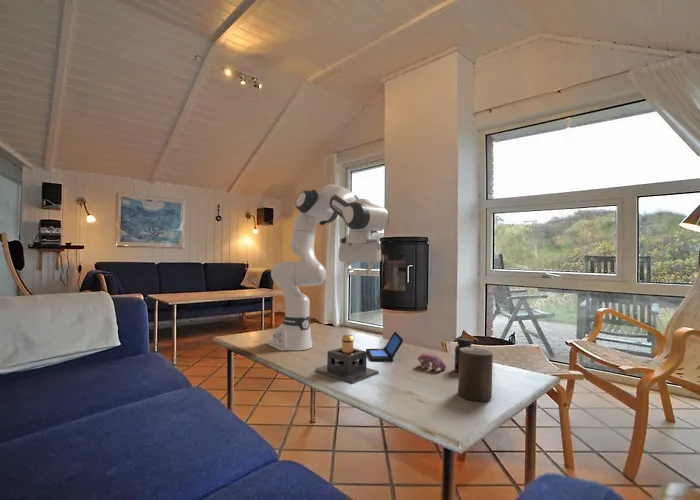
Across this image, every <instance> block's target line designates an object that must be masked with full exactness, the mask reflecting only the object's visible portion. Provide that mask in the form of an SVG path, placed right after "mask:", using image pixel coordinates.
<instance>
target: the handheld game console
mask: <svg viewBox="0 0 700 500" xmlns="http://www.w3.org/2000/svg"><path fill="white" fill-rule="evenodd" d="M403 343H404V339H403V338H402V337H401V336H400V335H399V334H398V333H397V331H394V332H393V333H392V335H391V337H390V339H389V340H388V342H387V343H386V345H385V346H383V348H366V349H365V351H366V352H367V357H368V359H369V360H370V361H371V362H381V363H382V362H394V357H395V355H396V354H397V352H398V350H399V349H400V347H401V346H402V344H403Z"/></svg>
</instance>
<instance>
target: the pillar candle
mask: <svg viewBox="0 0 700 500" xmlns="http://www.w3.org/2000/svg"><path fill="white" fill-rule="evenodd" d="M493 357H494V355H493V352H492V350H489V349H485V348H480V347H476V346H473V347H472V346H471V347H463V348H460V350H459V373H458V381H457V382H458V383H457V385H458V386H457V393H458V395H459V396H460V397H461V398H463V399H466V400H469V401H472V402H476V401H481V402H480V403H483V402H482V401H487V402H489V401H488V400H490V399H491V398H492V397H493V395H492V394H493ZM491 400H492V399H491ZM491 400H490V401H491Z"/></svg>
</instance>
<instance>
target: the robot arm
mask: <svg viewBox="0 0 700 500" xmlns="http://www.w3.org/2000/svg"><path fill="white" fill-rule="evenodd" d="M295 208H296V209H297V211H298V212H300V213H298V214H297V215H296V217H295V220H294V222H293V225H292V226H293V227H292V231H291V239H290V245H289V247H290V251H291V252H292V253H293V254H294V255H296V256H298V257H299V259H300V260H299V261H282V262H281V261H280V262H276V263H275V264H274V265H273V267H272V268H271V272H270V276H271V279H272V281H273V282H274V283H275V284H276V285H277V286H278V287H279V288H280V290H281V292H282V294H283V297H284V307H285V308H284V310H285V311H284V312H285V313H284V316H283V317H281V320H282V321H281V322H282V323H281V324H280V325H279V326H278V327H276V329H274V331H273V332H272V337H271V338H272V339H271V340H268V341H267V342H266V345H268V346H271V348H274V349H276V350H278V351H303V350H304V351H305V350H308V349H312V347H313V341H312V331H311V326H310V324H311V315H310V309H311V308H310V307H311V306H310V304H311V303H310V302H311V301H310V298H309V297H308V296H307V295H306V294H304V293H303V292H301V290H300V289H299V286H300V287H315V286H320V285H322V284H323V283H324V281H326V278H327V271H326V269H325V266H324V265H323V264H322V263H321V262H320V261H319V260H318V259H317V257H316V254H315V239H316V229H317V226H318V224H319V225H320V226H325V225H326V224H331V223H332V222H334V221H335V220H336V219H337V217H338V216H339V217H340V218H341V219H343V221H344V223H345V225H346V227H348V228H349V230H348V234H347V235H345V236H344V237H342V238H339V247H338V260H339V262H340V263H342V262H343V263H345V266H346V269H347V273H348V274H353V273H354V268H352V263H367V268H366V269H365V274H366V275H371V274H372V269H373V267H374V263H375V264H377V263H381V262H382V250H381V242H380V240H378V239H377V238H374V239H373V238H371V237H372V236H371V235H372V233H371V232H372V231H383V230H384V229H385V228H387V226H388V224H389V221H390V214H389V212H388V210H387V208H385V207H383V206H380V205H377V204H374V203H372V202H371V201H370V200H369V199H367V198H359V199H358V198H357V199H356V196H355V194H354V193H353V192H352V191H351V190H350V189H348V188H346V187H343V186H341V185H338V184H331V183H330V184H327V185H325V186H324V187H323V188H322V189H321V191H317V190H316V189H312V190H308V189H307V190H303V191H301V192H300V193H299V194H298V195H297V196H296V199H295Z"/></svg>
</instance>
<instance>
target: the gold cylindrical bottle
mask: <svg viewBox="0 0 700 500" xmlns="http://www.w3.org/2000/svg"><path fill="white" fill-rule="evenodd" d="M341 348H342V353H343V354H347V355H349V354H352V353H353V348H354V335H352V334H343V335H342V337H341ZM342 365H344V362H343V361H342ZM352 365H353V362H352Z"/></svg>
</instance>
